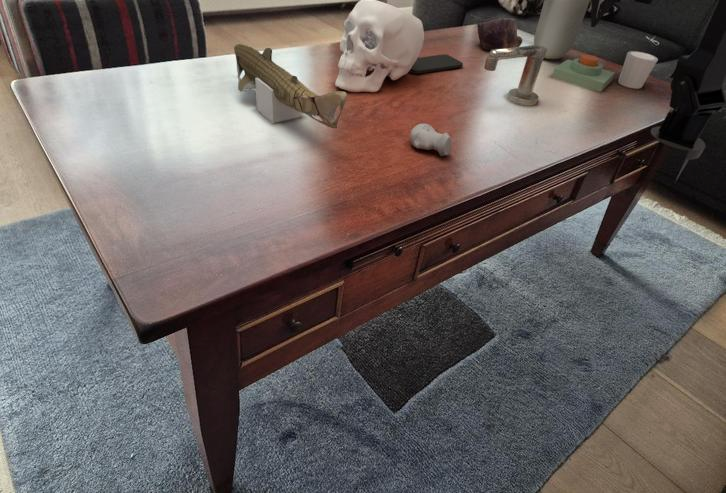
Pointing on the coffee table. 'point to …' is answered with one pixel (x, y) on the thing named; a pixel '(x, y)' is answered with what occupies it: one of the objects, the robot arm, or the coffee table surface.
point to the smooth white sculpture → (430, 139)
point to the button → (589, 60)
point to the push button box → (583, 74)
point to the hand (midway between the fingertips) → (592, 26)
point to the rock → (498, 34)
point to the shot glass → (636, 69)
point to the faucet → (527, 83)
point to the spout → (513, 54)
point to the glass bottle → (559, 26)
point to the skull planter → (377, 45)
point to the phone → (435, 64)
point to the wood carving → (283, 90)
